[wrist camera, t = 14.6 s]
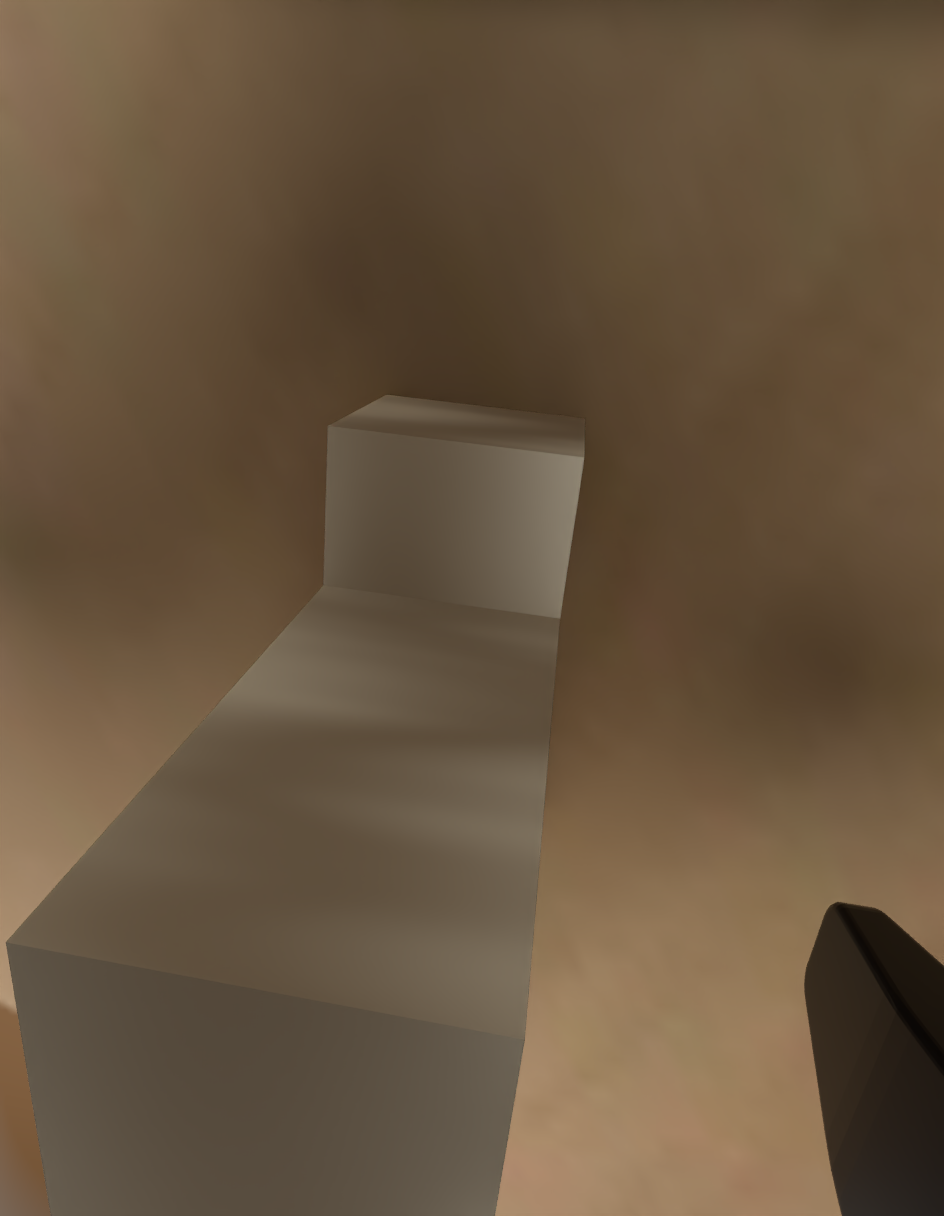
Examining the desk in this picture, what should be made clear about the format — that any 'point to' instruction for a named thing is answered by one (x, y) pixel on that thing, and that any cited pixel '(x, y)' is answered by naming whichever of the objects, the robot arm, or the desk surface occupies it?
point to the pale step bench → (329, 867)
